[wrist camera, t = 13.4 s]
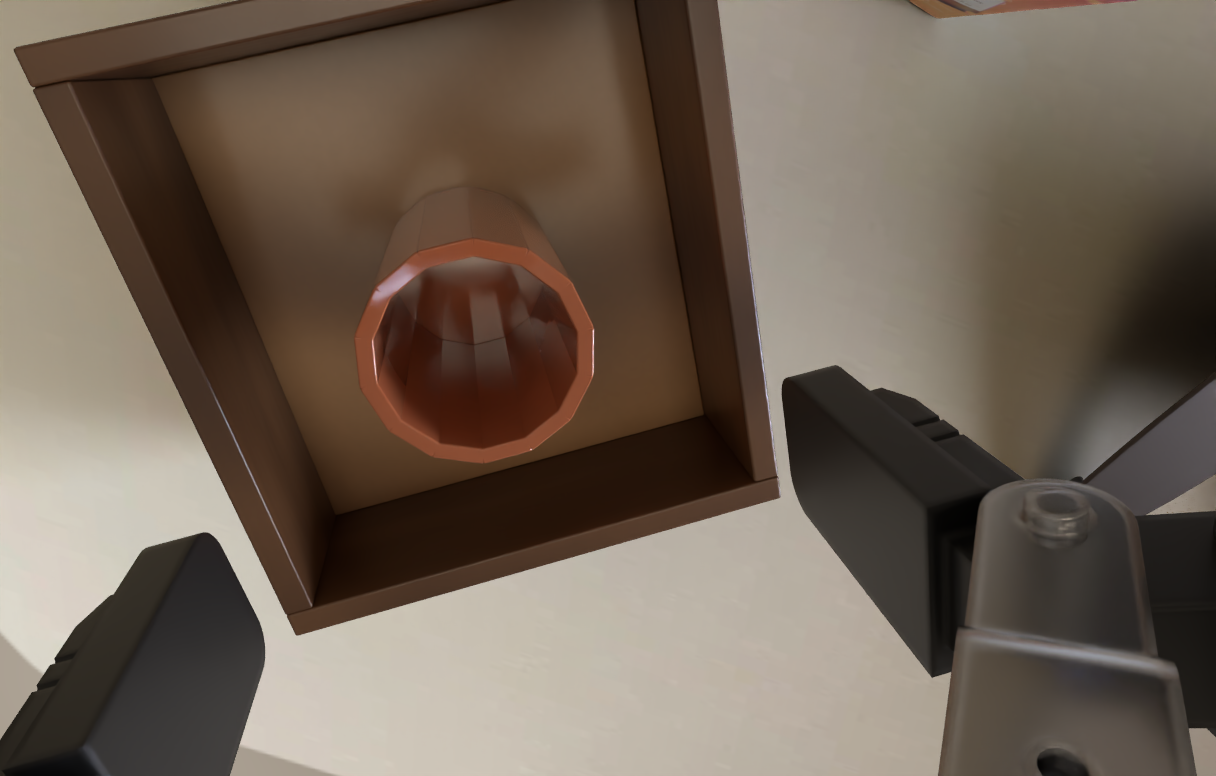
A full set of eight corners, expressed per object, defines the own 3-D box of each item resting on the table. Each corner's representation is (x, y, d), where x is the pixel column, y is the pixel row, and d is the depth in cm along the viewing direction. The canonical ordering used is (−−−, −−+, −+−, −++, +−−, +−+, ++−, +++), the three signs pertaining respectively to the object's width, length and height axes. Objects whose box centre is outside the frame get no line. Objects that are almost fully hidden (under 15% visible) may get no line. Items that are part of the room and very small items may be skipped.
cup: (359, 209, 23) (317, 275, 16) (532, 168, 23) (568, 214, 16) (412, 366, 25) (396, 488, 18) (569, 325, 26) (616, 428, 18)
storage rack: (198, 55, 28) (10, 47, 16) (601, -32, 29) (705, -99, 17) (349, 440, 34) (295, 637, 22) (672, 354, 36) (782, 498, 24)
